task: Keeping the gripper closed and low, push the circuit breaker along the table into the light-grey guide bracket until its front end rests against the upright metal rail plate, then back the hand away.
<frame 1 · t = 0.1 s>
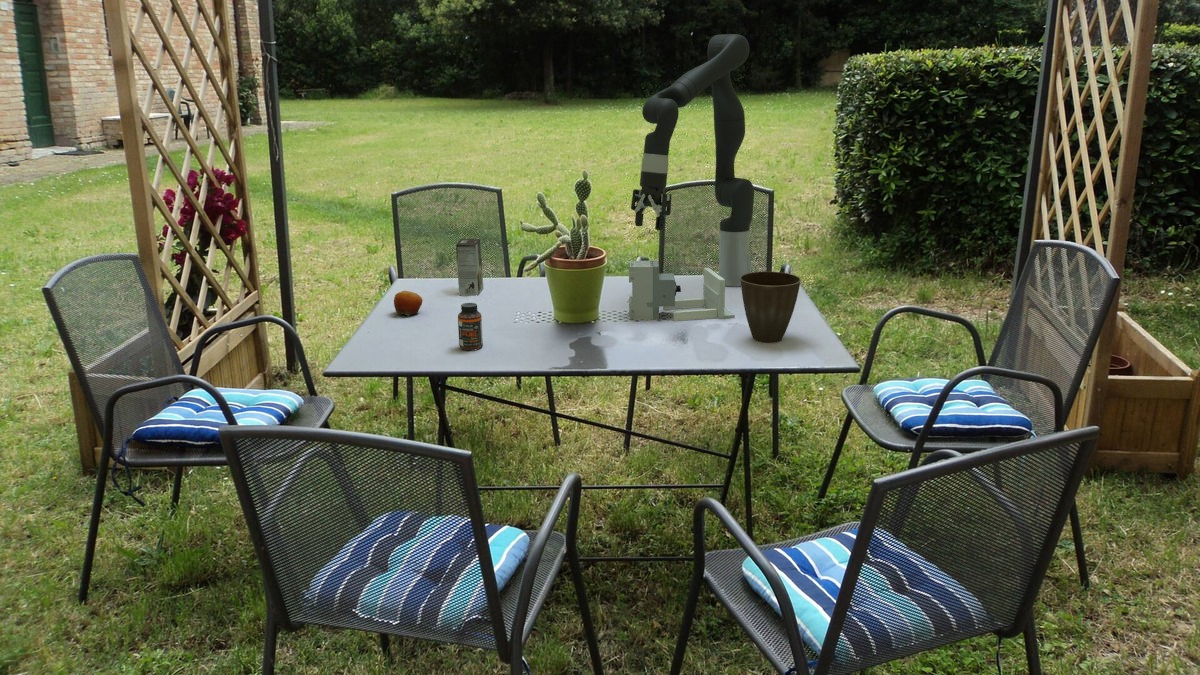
hand: (648, 228, 264), 23 cm above the table, tool pointing down, fingers open, 8 cm apart
supplement bottle: (471, 348, 234), on the table
circuit breaker: (654, 316, 259), on the table
rail bracket: (709, 311, 262), on the table
plant pot: (768, 339, 237), on the table
fruit: (408, 314, 266), on the table
coffee box: (471, 292, 289), on the table
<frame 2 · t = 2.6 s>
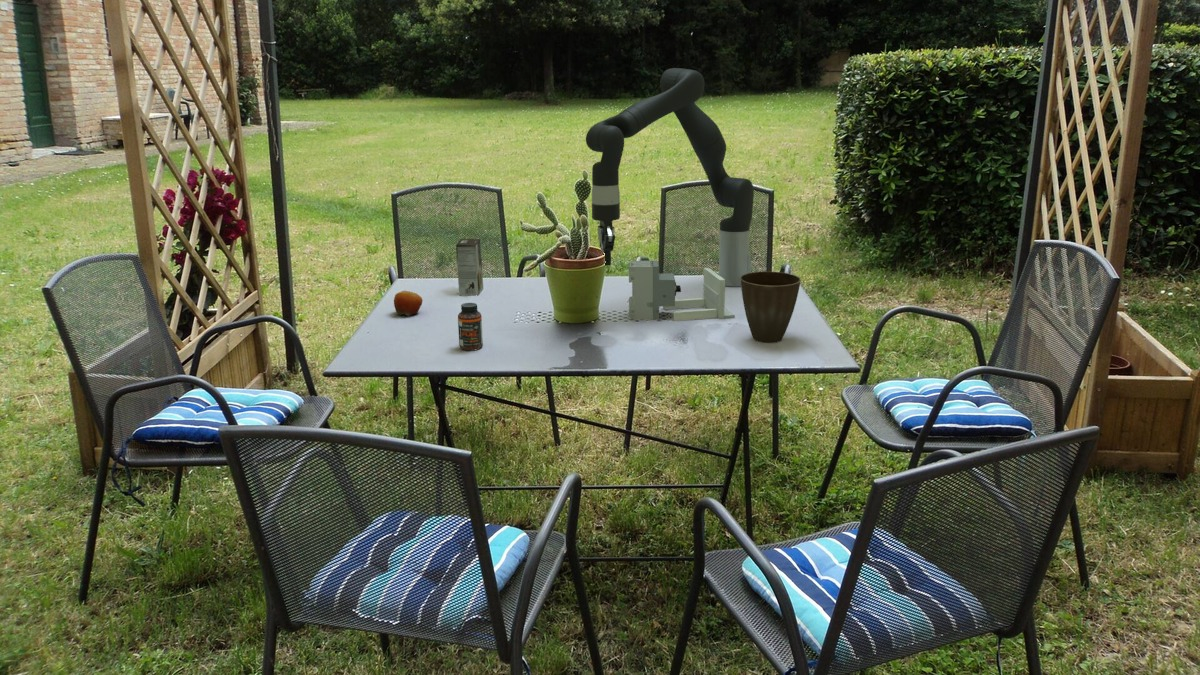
hand: (606, 264, 252), 15 cm above the table, tool pointing down, fingers closed
nothing on the table moved.
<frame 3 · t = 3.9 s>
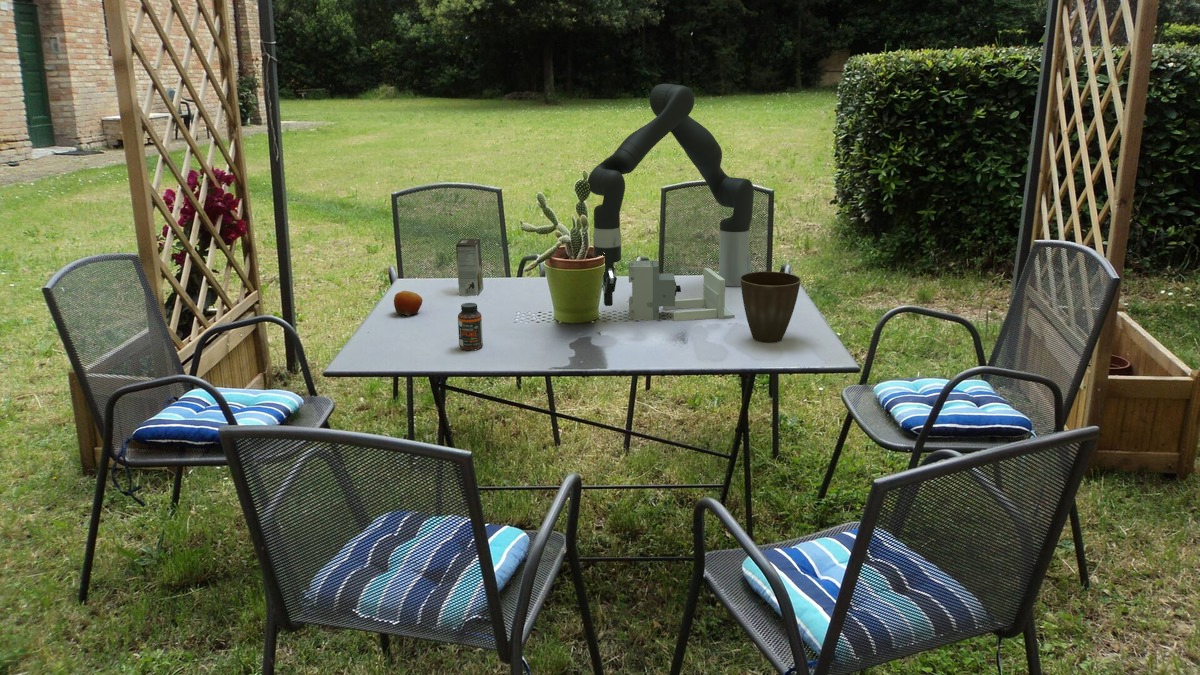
hand: (608, 305, 256), 4 cm above the table, tool pointing down, fingers closed
nothing on the table moved.
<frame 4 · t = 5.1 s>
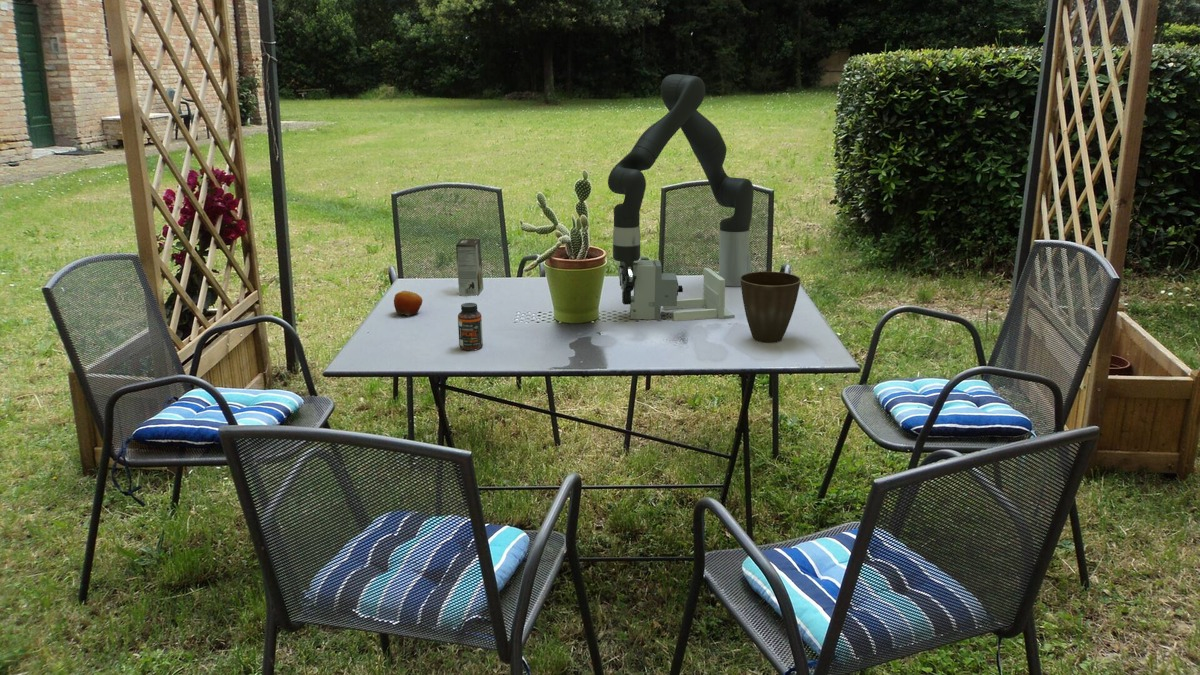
hand: (626, 303, 257), 4 cm above the table, tool pointing down, fingers closed
circuit breaker: (655, 316, 259), on the table, touching gripper
everything else where it was.
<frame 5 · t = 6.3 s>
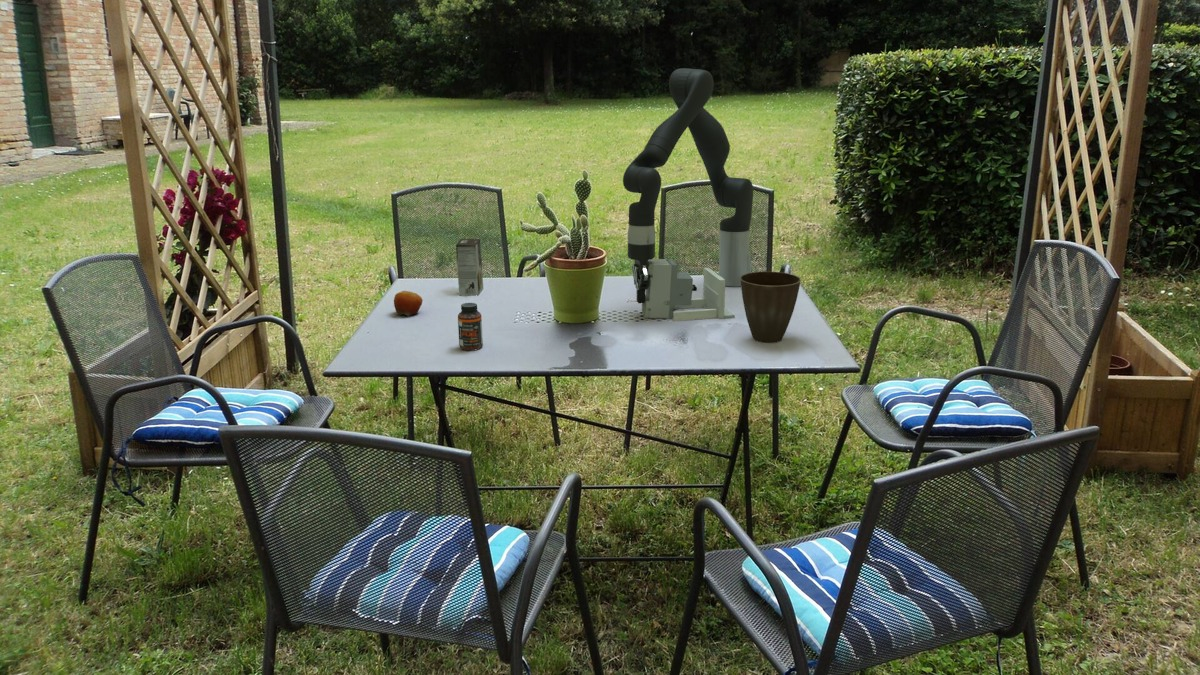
hand: (640, 302, 257), 4 cm above the table, tool pointing down, fingers closed
circuit breaker: (668, 315, 260), on the table, touching gripper
everything else where it was.
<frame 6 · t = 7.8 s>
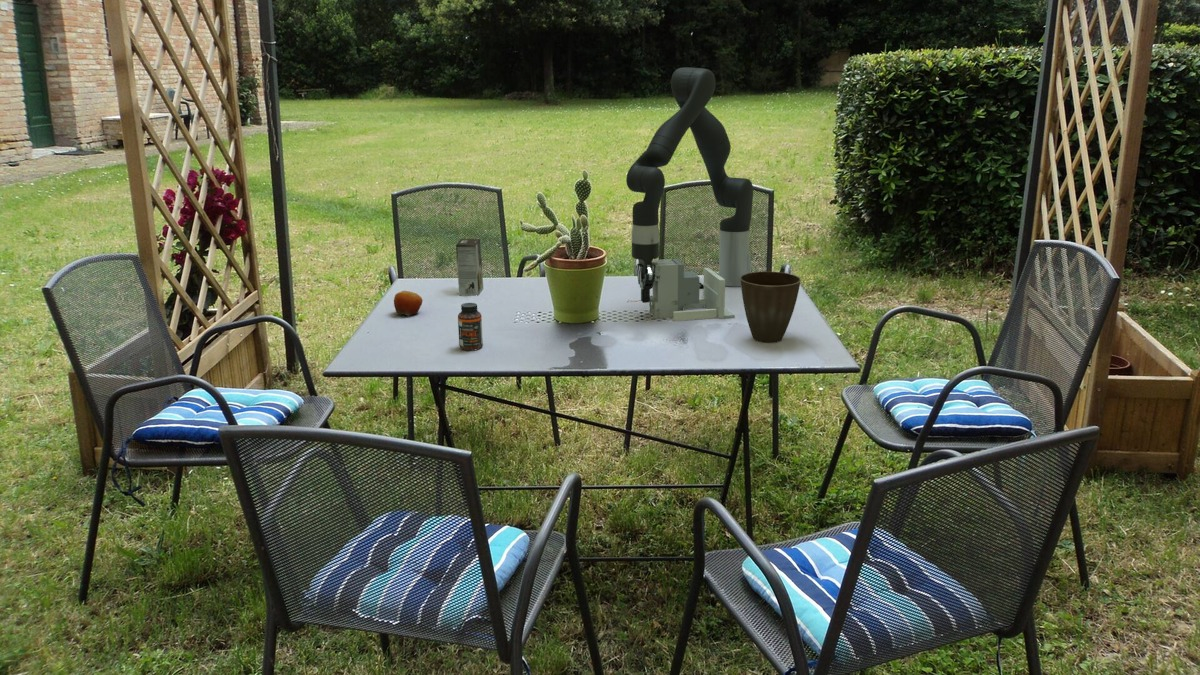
hand: (645, 301, 257), 4 cm above the table, tool pointing down, fingers closed
circuit breaker: (676, 314, 261), on the table
everything else where it was.
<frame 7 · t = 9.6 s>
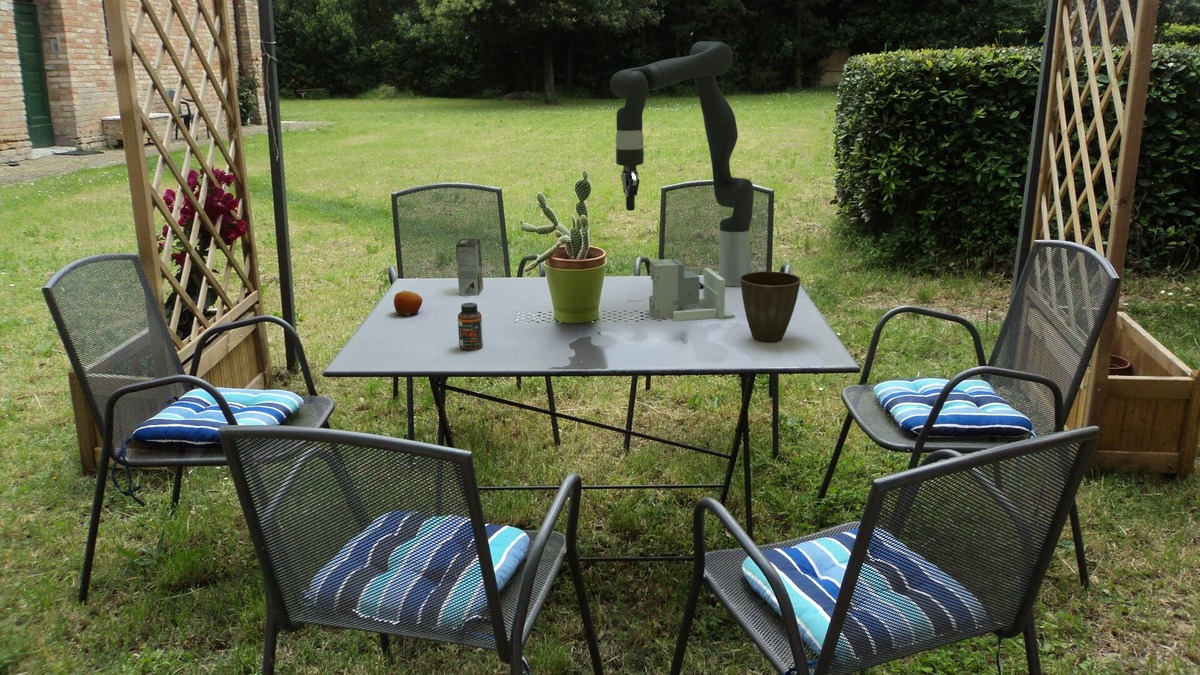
hand: (630, 210, 257), 29 cm above the table, tool pointing down, fingers closed
nothing on the table moved.
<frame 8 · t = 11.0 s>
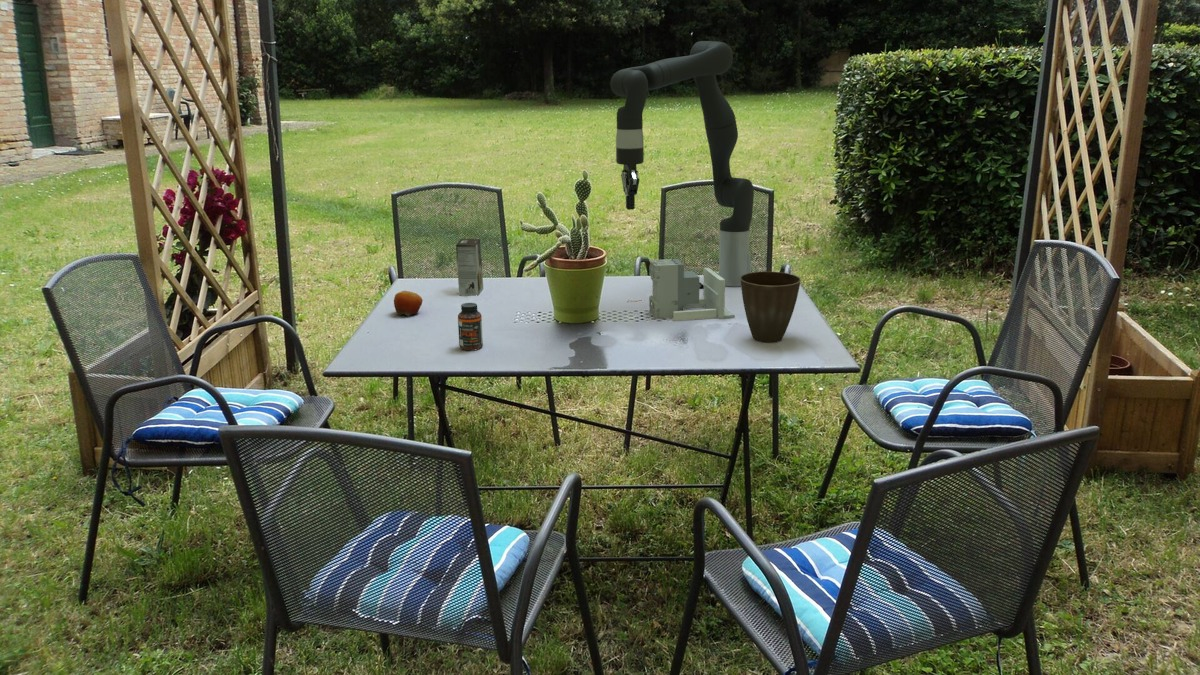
hand: (630, 209, 257), 29 cm above the table, tool pointing down, fingers closed
nothing on the table moved.
at the end: circuit breaker inside the target area (1.3 cm from its centre), on the table; circuit breaker tilted 0°; circuit breaker moved 6.6 cm from its start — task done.
